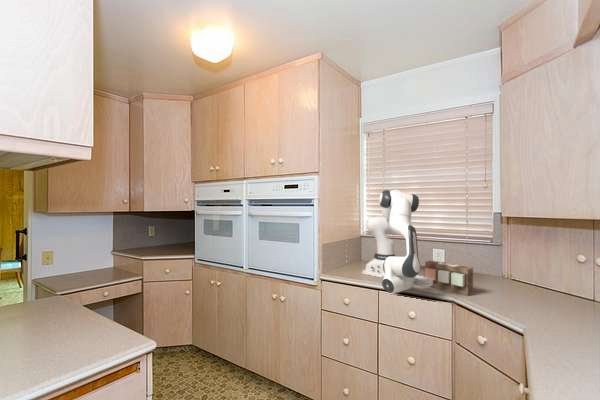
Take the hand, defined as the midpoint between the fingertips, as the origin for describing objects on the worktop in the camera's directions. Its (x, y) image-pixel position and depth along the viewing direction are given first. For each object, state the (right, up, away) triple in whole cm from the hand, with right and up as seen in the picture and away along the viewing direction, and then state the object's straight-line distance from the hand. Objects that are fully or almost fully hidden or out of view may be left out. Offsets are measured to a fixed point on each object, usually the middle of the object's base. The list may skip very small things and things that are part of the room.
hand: (420, 276), depth 171 cm
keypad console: (+16, -8, +3) cm, 18 cm away
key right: (+18, -3, -5) cm, 19 cm away
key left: (+9, -3, +7) cm, 12 cm away
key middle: (+14, -3, +1) cm, 14 cm away
